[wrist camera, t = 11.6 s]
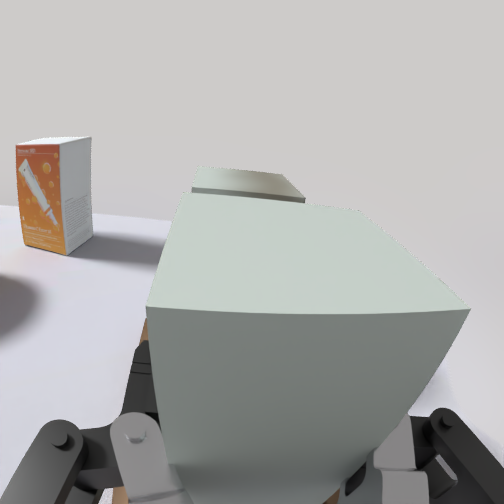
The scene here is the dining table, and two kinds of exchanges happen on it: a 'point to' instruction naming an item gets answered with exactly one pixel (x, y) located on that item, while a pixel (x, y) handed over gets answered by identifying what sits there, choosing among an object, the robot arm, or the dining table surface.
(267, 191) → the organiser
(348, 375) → the sage block
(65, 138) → the small box
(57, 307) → the dining table surface
